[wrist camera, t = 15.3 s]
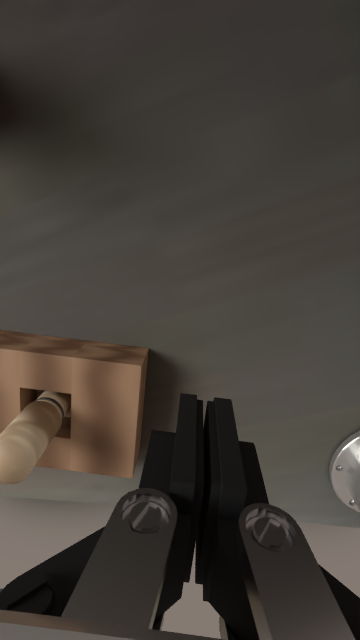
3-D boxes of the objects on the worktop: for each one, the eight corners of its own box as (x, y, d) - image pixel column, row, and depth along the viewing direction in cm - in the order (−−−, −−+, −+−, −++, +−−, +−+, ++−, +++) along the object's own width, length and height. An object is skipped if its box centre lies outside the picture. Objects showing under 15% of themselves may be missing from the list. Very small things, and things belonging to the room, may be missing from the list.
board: (148, 348, 40) (141, 365, 35) (139, 450, 44) (132, 478, 39) (-20, 327, 40) (-50, 342, 35) (-14, 430, 44) (-40, 455, 39)
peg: (78, 381, 40) (29, 446, 29) (77, 413, 41) (30, 487, 30) (43, 377, 40) (-20, 439, 29) (43, 408, 41) (-17, 480, 30)
